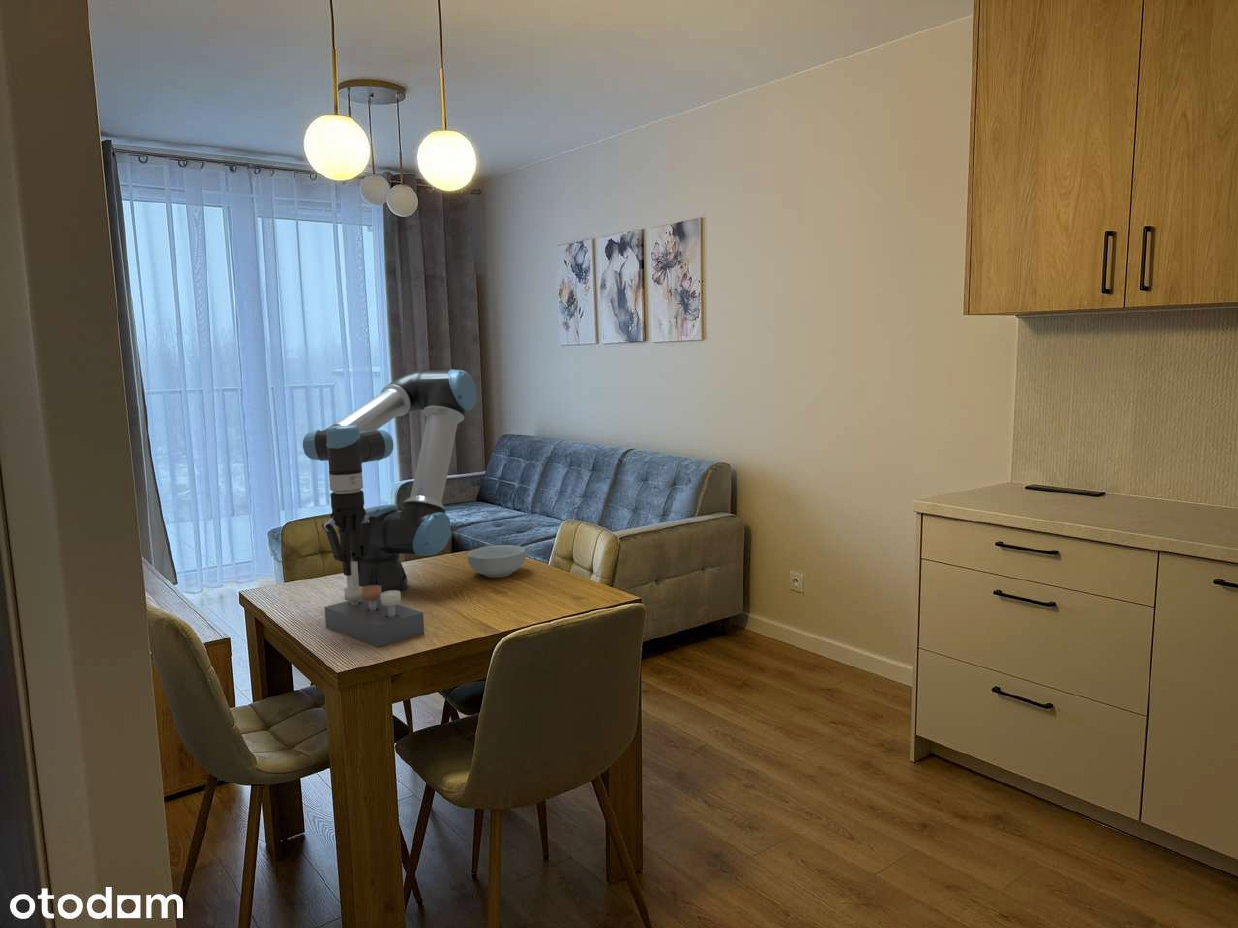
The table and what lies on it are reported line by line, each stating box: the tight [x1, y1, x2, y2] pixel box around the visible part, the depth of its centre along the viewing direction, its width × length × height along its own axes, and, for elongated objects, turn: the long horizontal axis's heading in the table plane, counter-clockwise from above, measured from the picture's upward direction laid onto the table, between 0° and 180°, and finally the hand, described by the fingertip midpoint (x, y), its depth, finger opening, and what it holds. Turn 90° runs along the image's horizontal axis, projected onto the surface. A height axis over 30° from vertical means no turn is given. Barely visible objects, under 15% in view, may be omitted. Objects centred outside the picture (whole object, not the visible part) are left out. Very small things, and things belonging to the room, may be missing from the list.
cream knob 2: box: [380, 590, 402, 618], centre depth 187 cm, size 4×4×7 cm
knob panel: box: [323, 598, 425, 648], centre depth 193 cm, size 12×23×5 cm, turn 48°
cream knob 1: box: [343, 586, 362, 606], centre depth 198 cm, size 4×4×7 cm
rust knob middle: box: [362, 585, 382, 612], centre depth 193 cm, size 4×4×7 cm
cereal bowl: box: [467, 544, 527, 579], centre depth 241 cm, size 17×17×7 cm
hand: (353, 587), depth 198 cm, fingers closed
